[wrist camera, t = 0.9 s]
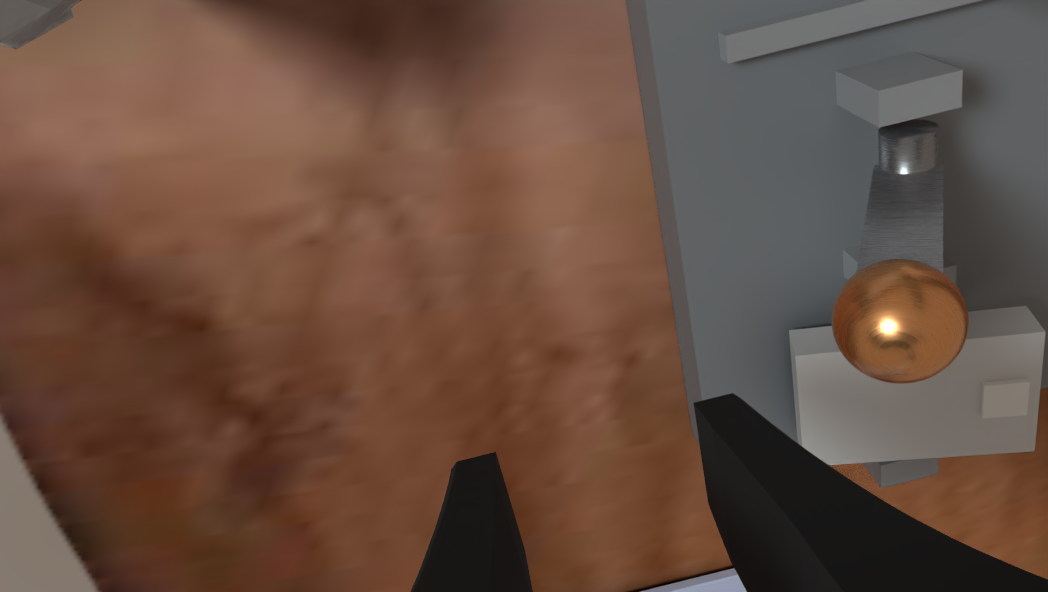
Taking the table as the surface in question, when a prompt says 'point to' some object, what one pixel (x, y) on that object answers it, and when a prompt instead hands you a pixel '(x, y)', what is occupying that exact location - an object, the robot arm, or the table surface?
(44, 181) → the table surface
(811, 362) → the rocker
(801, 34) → the panel
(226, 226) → the table surface
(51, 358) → the table surface
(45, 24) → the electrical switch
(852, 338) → the lever
